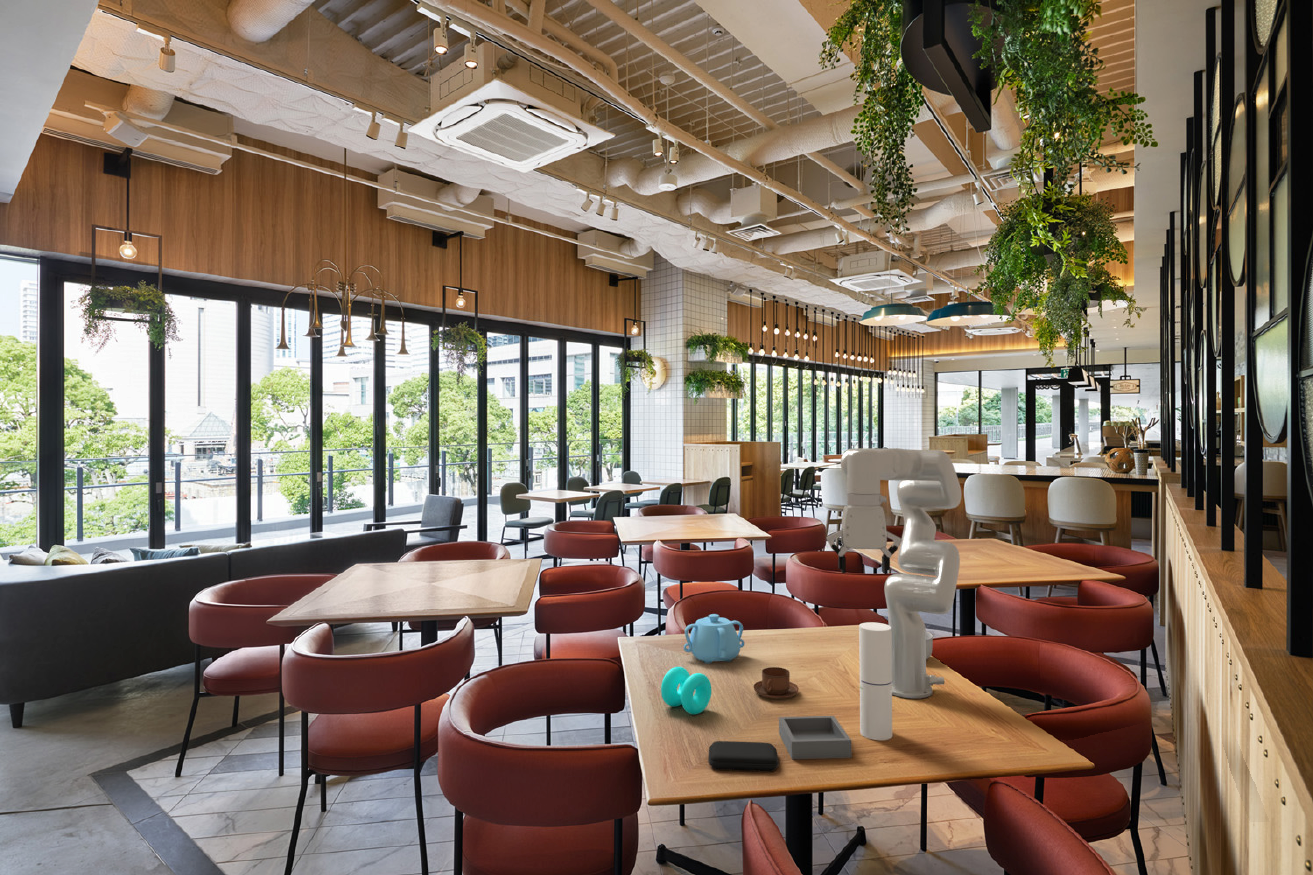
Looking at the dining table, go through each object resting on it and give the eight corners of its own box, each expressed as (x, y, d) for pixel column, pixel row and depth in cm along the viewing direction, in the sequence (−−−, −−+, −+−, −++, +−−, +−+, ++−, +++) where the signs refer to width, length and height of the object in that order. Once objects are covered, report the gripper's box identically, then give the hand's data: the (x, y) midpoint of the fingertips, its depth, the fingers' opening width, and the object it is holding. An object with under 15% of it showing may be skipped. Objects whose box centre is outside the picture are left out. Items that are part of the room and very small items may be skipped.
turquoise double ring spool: (685, 698, 183) (685, 661, 183) (714, 709, 176) (713, 670, 176) (658, 709, 176) (658, 670, 176) (687, 720, 169) (687, 680, 169)
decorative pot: (721, 670, 205) (721, 625, 205) (678, 659, 215) (678, 616, 215) (749, 656, 218) (749, 613, 218) (707, 647, 228) (707, 606, 228)
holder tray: (833, 731, 162) (833, 715, 162) (851, 757, 149) (851, 740, 149) (779, 733, 161) (778, 717, 161) (791, 759, 148) (791, 741, 148)
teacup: (936, 656, 215) (936, 631, 215) (929, 666, 206) (929, 639, 206) (890, 649, 223) (890, 625, 223) (882, 659, 214) (881, 633, 214)
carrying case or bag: (775, 751, 153) (709, 749, 154) (775, 737, 153) (709, 735, 154) (779, 775, 142) (708, 772, 144) (779, 760, 142) (708, 757, 144)
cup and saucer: (798, 704, 179) (798, 680, 179) (752, 701, 181) (751, 677, 181) (798, 687, 191) (798, 665, 191) (754, 685, 193) (754, 663, 193)
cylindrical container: (876, 742, 156) (875, 632, 156) (853, 730, 162) (852, 624, 162) (899, 736, 159) (898, 628, 159) (876, 724, 165) (875, 620, 165)
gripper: (897, 500, 167) (897, 570, 167) (824, 499, 169) (824, 569, 169) (905, 502, 160) (905, 576, 159) (828, 502, 162) (828, 574, 162)
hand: (863, 572), depth 164 cm, fingers open, 9 cm apart
